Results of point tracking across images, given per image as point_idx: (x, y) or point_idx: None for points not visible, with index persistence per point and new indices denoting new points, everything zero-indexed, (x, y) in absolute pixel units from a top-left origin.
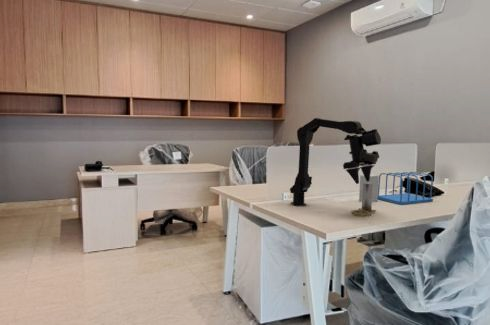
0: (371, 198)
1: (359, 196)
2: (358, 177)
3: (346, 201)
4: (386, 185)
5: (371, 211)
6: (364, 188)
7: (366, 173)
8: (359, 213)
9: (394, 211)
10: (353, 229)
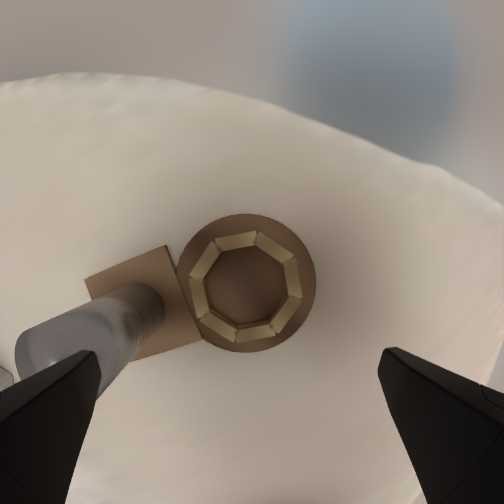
0: (105, 298)
1: None
2: (443, 382)
3: None
4: None
5: (130, 282)
6: (109, 374)
7: (46, 449)
8: (289, 276)
9: (30, 217)
10: (467, 185)
